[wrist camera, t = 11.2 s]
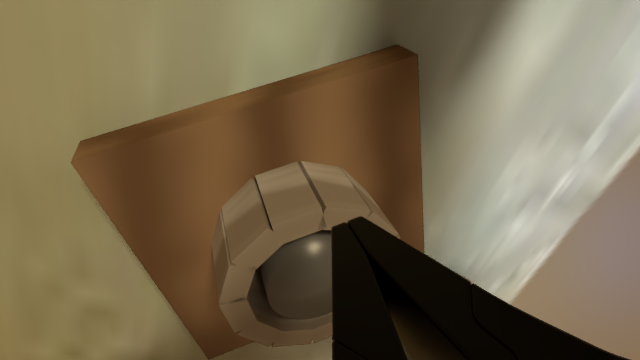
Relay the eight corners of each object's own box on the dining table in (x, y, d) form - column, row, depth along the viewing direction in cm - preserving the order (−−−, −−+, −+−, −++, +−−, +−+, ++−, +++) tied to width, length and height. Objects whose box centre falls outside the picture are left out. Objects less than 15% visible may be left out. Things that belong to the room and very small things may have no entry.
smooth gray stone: (329, 182, 20) (358, 229, 17) (344, 245, 23) (371, 295, 20) (240, 215, 20) (253, 270, 17) (267, 276, 23) (283, 332, 19)
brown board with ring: (398, 44, 20) (470, 81, 15) (411, 253, 29) (457, 316, 24) (80, 141, 17) (44, 221, 12) (206, 334, 27) (213, 421, 22)
